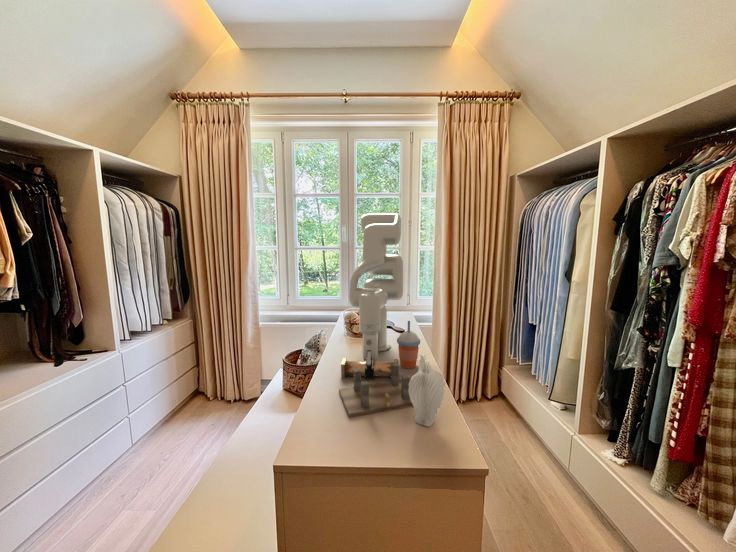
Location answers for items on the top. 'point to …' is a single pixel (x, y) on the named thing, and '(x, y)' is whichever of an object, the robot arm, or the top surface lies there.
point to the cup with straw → (408, 348)
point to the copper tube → (379, 368)
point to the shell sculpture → (426, 392)
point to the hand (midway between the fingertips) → (369, 374)
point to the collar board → (376, 394)
